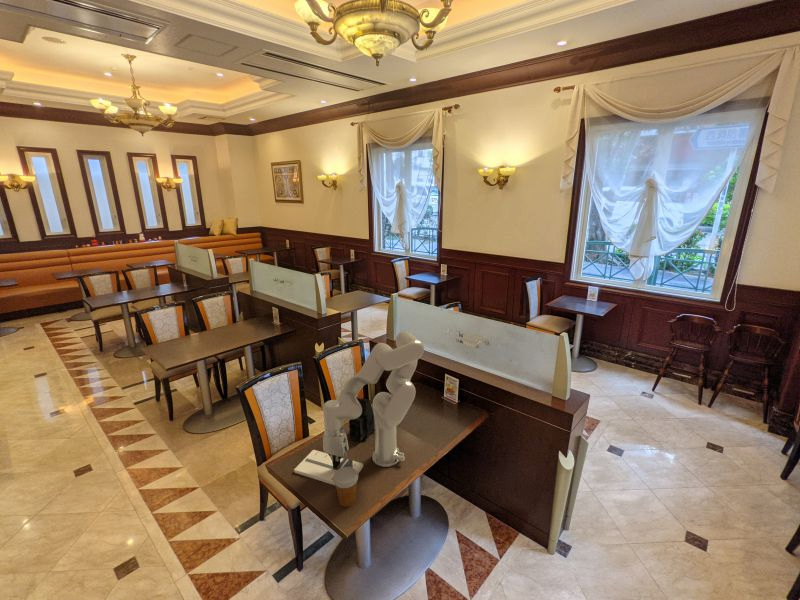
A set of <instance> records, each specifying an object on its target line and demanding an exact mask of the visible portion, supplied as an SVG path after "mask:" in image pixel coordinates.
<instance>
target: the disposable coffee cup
mask: <svg viewBox="0 0 800 600" xmlns="http://www.w3.org/2000/svg"><path fill="white" fill-rule="evenodd" d="M358 479H359V473H357V472H356V470H355V469H354V468H352V467H343V468H340V469H339V470H337V471H336V473H335V475H334V477H333V481H334V483H335V485H334V486H335V490H336V494H337V498H338V503H339V505H340V506H341V507H344V508H347V507H352V506H353V505H354V504H355V502H356V496H357V487H358V486H357V485H358V481H359V480H358Z"/></svg>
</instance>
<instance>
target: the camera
mask: <svg viewBox="0 0 800 600" xmlns="http://www.w3.org/2000/svg"><path fill="white" fill-rule="evenodd" d="M356 398H357V400H358V401H359V403H360V405H361V407H362V414H361V415H360V416H359V417H358V418H356V419H348V420H349V421H348V428H349V431H348V432H349V434H348V435H349V437H348V438H350V439H352V440H355V441H358V442H361V441H363V440H364V441H365V439H369V436H370V435H371V434H372V433H375V422H374V414H373V407H372V402H371V399H367V398H363V397H361V398H360V397H357V396H356Z"/></svg>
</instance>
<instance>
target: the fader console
mask: <svg viewBox="0 0 800 600" xmlns="http://www.w3.org/2000/svg"><path fill="white" fill-rule="evenodd" d="M343 459H344V458H341V459H340V463H341V462H342V460H343ZM353 468H354V469H355V470H356V472H357V473H358V474H360V472H361V471H362V469H363V468H364V463H362V462H359V461H355V460H353ZM336 471H337V469H334V468H333V464H332V460H331V457H330V456H329V455H328V454H327V453H325V452H324V451H320V450H316V449H312V450H311V451H310V453H308V455H306V457H305V458H304V459H302V461H301V462H300V463H299V464H298V465H297V466H296V467H295V468H294V469H293V472H294V473H295V474H299V475H301V476H305V477H307V478H310V479H314V480H316V481H317V480H318V481H321V482H323V483H326V484H329V485H332V486H335V483H334V481H333V477H334V475H335V473H336Z"/></svg>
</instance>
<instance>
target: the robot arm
mask: <svg viewBox="0 0 800 600" xmlns="http://www.w3.org/2000/svg"><path fill="white" fill-rule="evenodd" d="M395 337H396V338H395V345H396V348H392V347H391V346H390V345H389V344H387V343H384V342H378V343H377V344H375V345H374V346H373V347H372V349H371V352H370V353H369V355H368V356H367V358H366V359H365V362H364V363H363V365H362V367H361V368H360V370H359V371H358V373H356V374H354V375H353V376H352V377H351V378H349V380H348V381H347V382H346V383H345V384H344V387H343V388H342V390H341V391H340V393H339V396H338V399H331V400H330V399H329V400H327V401H326V402H324V404H323V406H322V408H323V409H322V412H323V422H324V423H323V425H324V432H323V435H322V436H323V437H322V449H323V452H324V453H327V454H328V455H329V456H330V457H331V460H332V464H333V468H334V469H337V466H338V465H339V464H340V459H341V458H346V459H348V453H347V452H348V451H349V442H348V437H347V433H346V432H347V431H346V429H345V428H344V422H343V421H345V420H349V419H356V418H358V417H359V416H360V415H361V414H362V407H361V405H360V403H359V401H358V400H357V398H358V397H357V396H358V395H359V393H360V391H361V390H362V388H363V387H364V386H365V385H368V384H371V385H374V384H377V382H378V381H379V380H380V378H381V376H382V374H383V372H384V371H387V372H390V371H391V372H390V374H389V376H388V378H387V379H386V382H385V386H386V388H387V390H388V392H387V391H380V392H378V393H376V395H375V396H374V397H373V399H372V403H371V406H372V408H373V414H374V429H375V431H374V445H375V450H374V451H373V452H372V454H371V455H372V461H373V463H374V464H375V465H377V466H380V467H382V468H385V467H386V468H387V467H388V468H389V467H393V466H395V465H397V464H398V462H400V461H402V462H405V460H406V457H405V453H404V452H401V451H400V448H399V447H398V446H397V443H398V442H397V426H398V425H399V424H401V422H402V421H403V420H404V418H405V416H406V414H407V413H408V411H409V409H410V408H411V406H412V404H413V402H414V400H415V399H416V398H415V397H416V394H417V393H416V387H415V385H414V384H413V382H412V381H411V379H412V377H413V375H414V373H415V371H416V369H417V366H418V360H420V358H422V356H423V354H424V353H425V346H424V344H423V342H422V341H421V340H419V339H418V338H417V337H416V336H414V334H412V333H411V332H409V331H407V330H402V331H400V332H398V333H397V335H396V336H395ZM356 397H357V398H356Z"/></svg>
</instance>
